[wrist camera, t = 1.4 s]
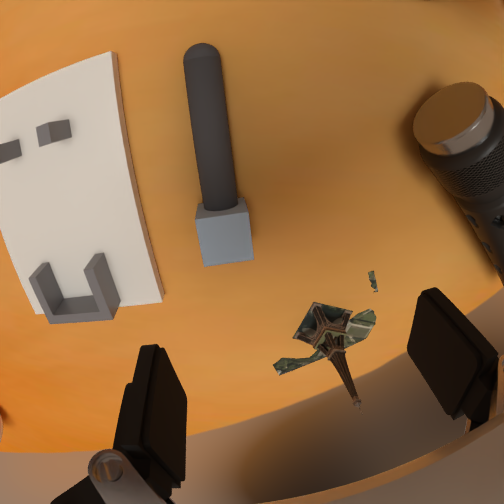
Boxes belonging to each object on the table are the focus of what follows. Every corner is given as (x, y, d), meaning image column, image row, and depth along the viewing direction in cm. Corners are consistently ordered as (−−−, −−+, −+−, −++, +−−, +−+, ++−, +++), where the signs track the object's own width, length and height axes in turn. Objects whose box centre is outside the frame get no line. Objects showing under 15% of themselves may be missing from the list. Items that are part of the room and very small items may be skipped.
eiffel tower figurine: (277, 373, 37) (297, 463, 25) (244, 320, 33) (259, 424, 21) (384, 326, 36) (432, 403, 24) (370, 264, 31) (437, 345, 19)
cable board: (-16, 112, 18) (-48, 118, 14) (116, 53, 19) (94, 43, 15) (41, 306, 29) (23, 334, 24) (164, 293, 29) (156, 325, 25)
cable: (176, 51, 20) (168, 41, 16) (225, 44, 20) (227, 32, 17) (205, 245, 28) (204, 266, 24) (249, 239, 28) (254, 259, 24)
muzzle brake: (486, 278, 35) (529, 317, 25) (384, 139, 25) (457, 162, 16) (520, 230, 32) (566, 262, 22) (433, 76, 22) (509, 77, 13)
